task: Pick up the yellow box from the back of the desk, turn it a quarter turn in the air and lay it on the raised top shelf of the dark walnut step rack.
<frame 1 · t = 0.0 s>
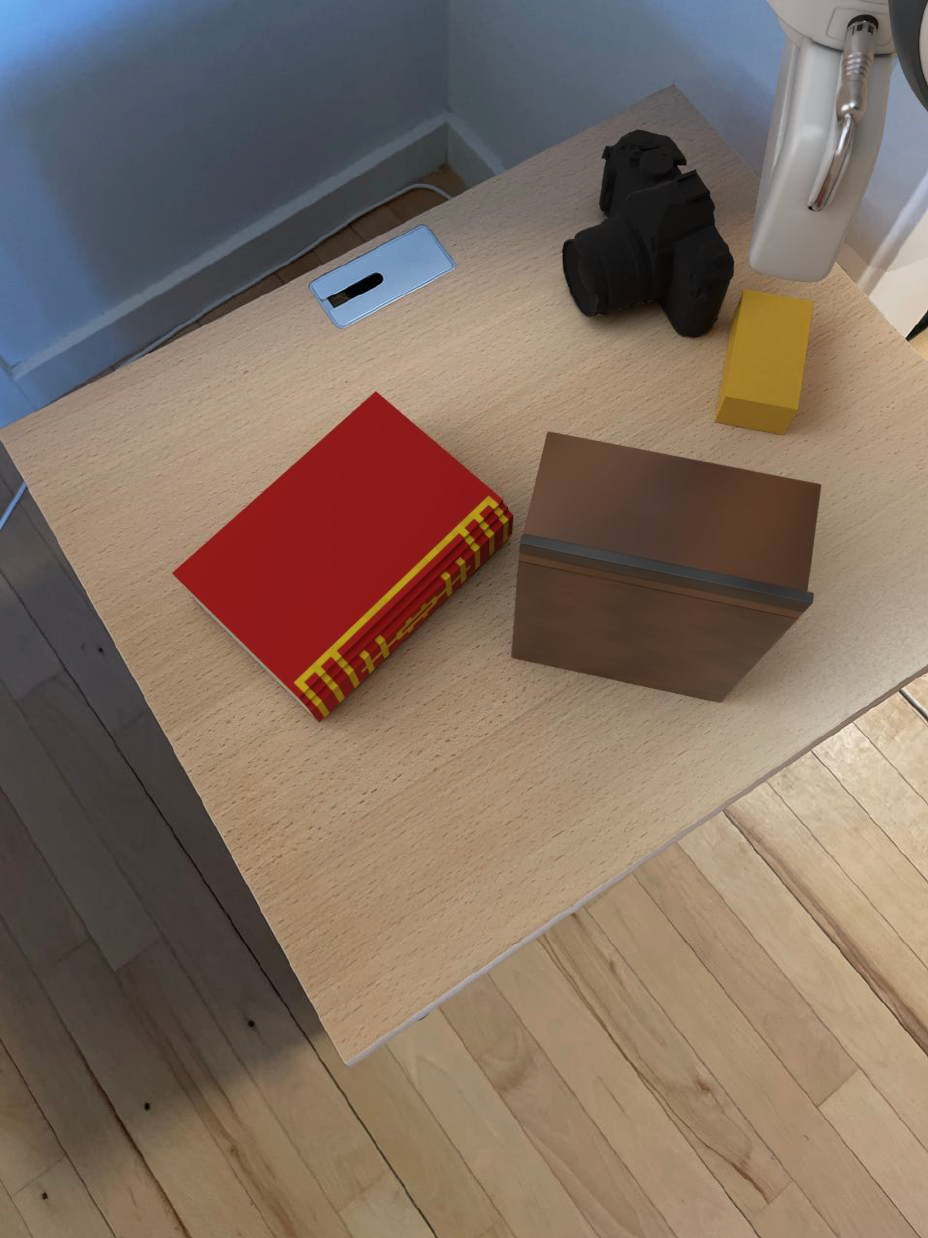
hand: (780, 191, 52), 20 cm above the table, tool pointing down, fingers open, 8 cm apart
book: (354, 570, 68), on the table
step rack: (632, 590, 67), on the table
top shelf: (668, 526, 50), resting on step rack
yellow box: (757, 375, 72), on the table
film camera: (628, 280, 75), on the table
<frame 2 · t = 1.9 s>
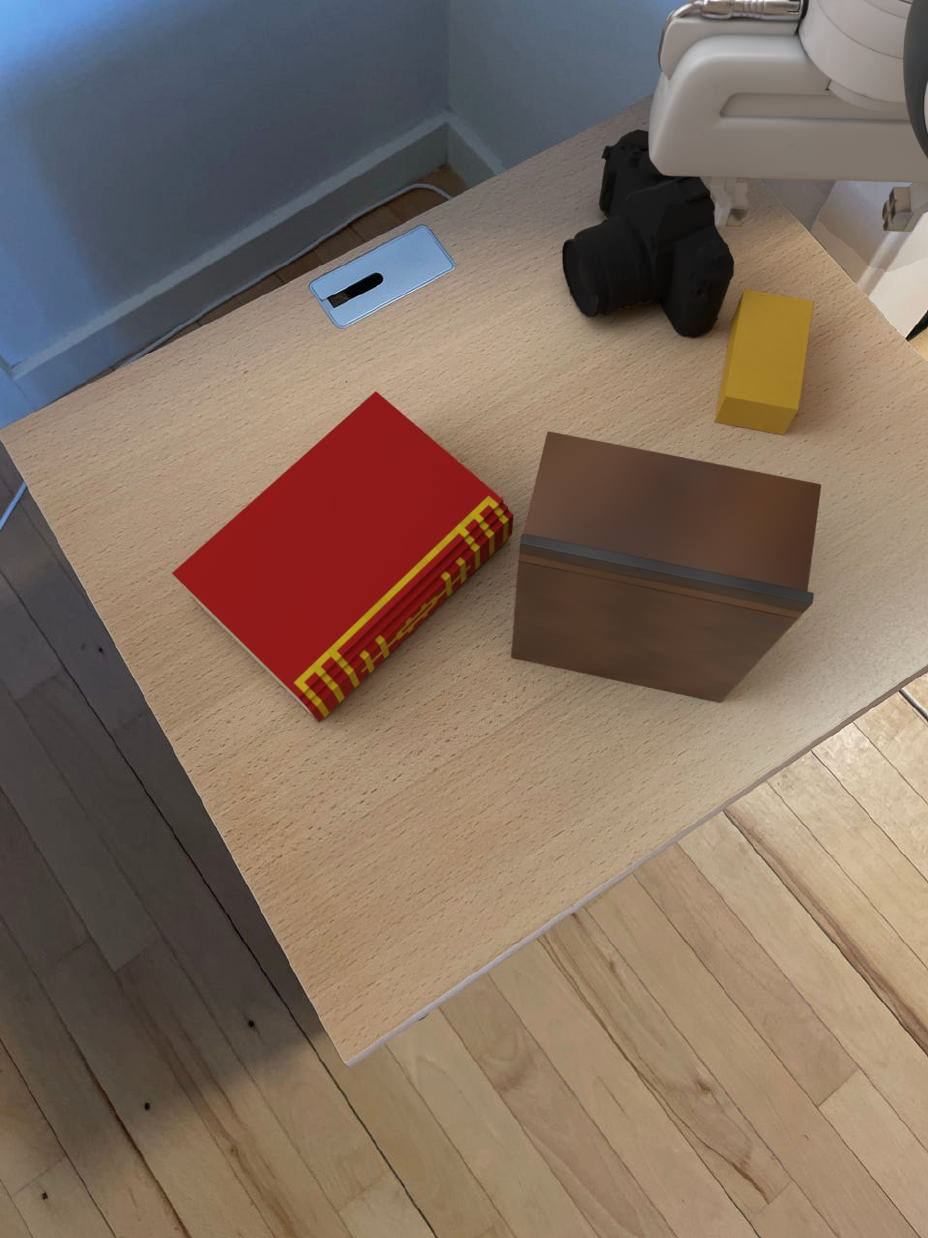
hand: (811, 219, 56), 17 cm above the table, tool pointing down, fingers open, 8 cm apart
nothing on the table moved.
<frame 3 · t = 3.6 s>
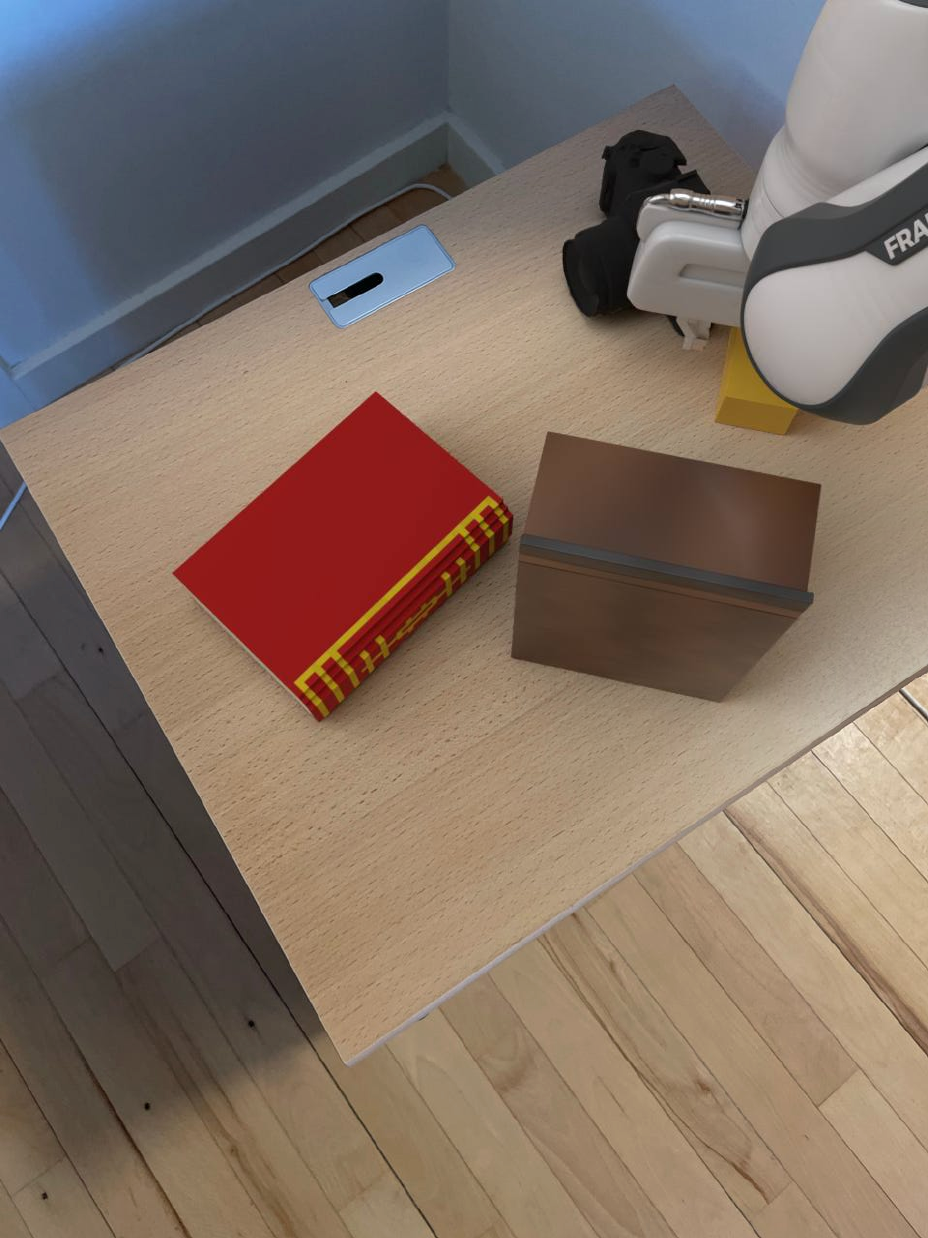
hand: (758, 354, 69), 3 cm above the table, tool pointing down, fingers open, 8 cm apart
film camera: (628, 280, 75), on the table, touching gripper
everything else where it was.
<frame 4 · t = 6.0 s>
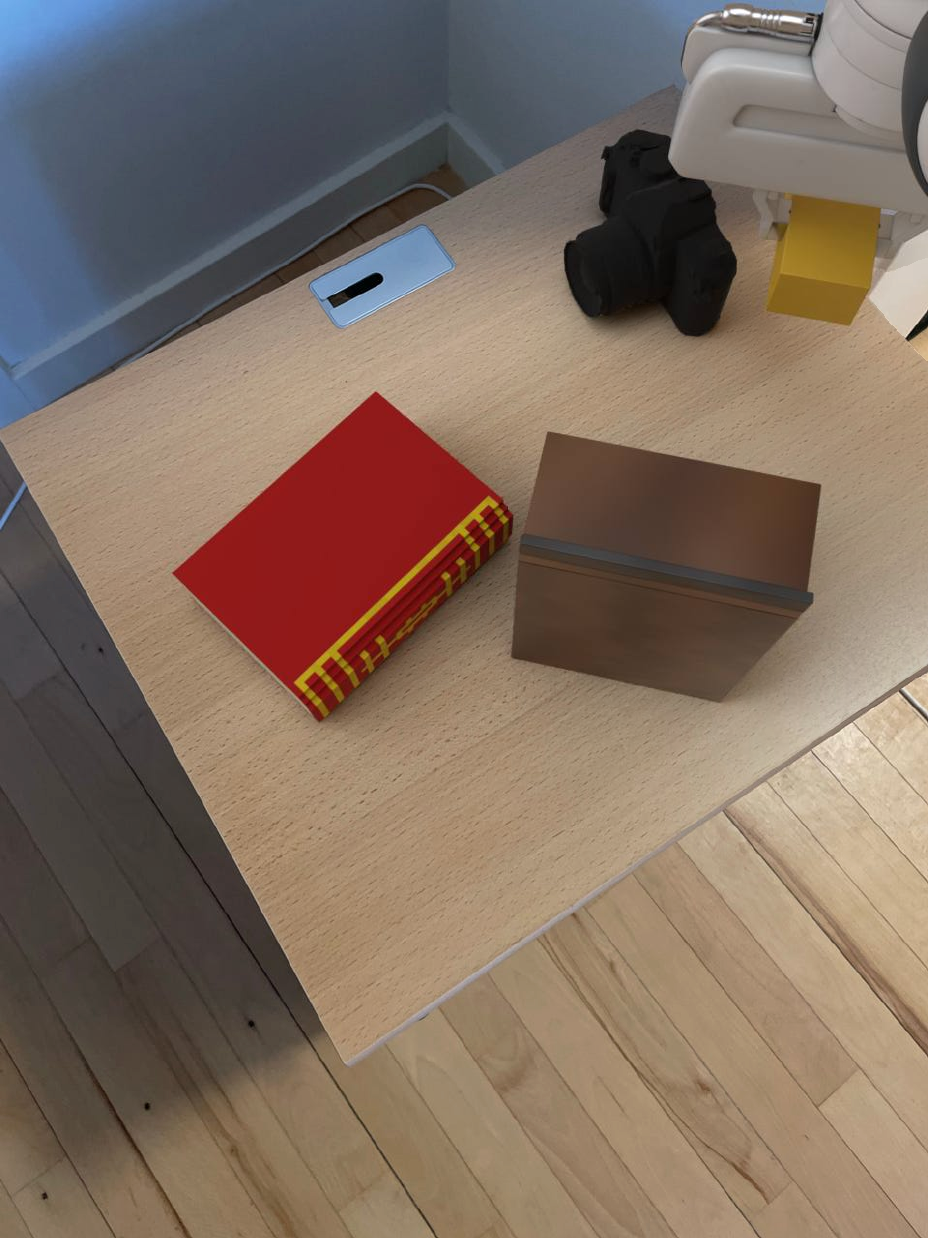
hand: (825, 240, 58), 15 cm above the table, tool pointing down, fingers closed on yellow box, 5 cm apart
yellow box: (816, 257, 60), point 13 cm above the table, touching gripper
film camera: (629, 280, 75), on the table
everything else where it was.
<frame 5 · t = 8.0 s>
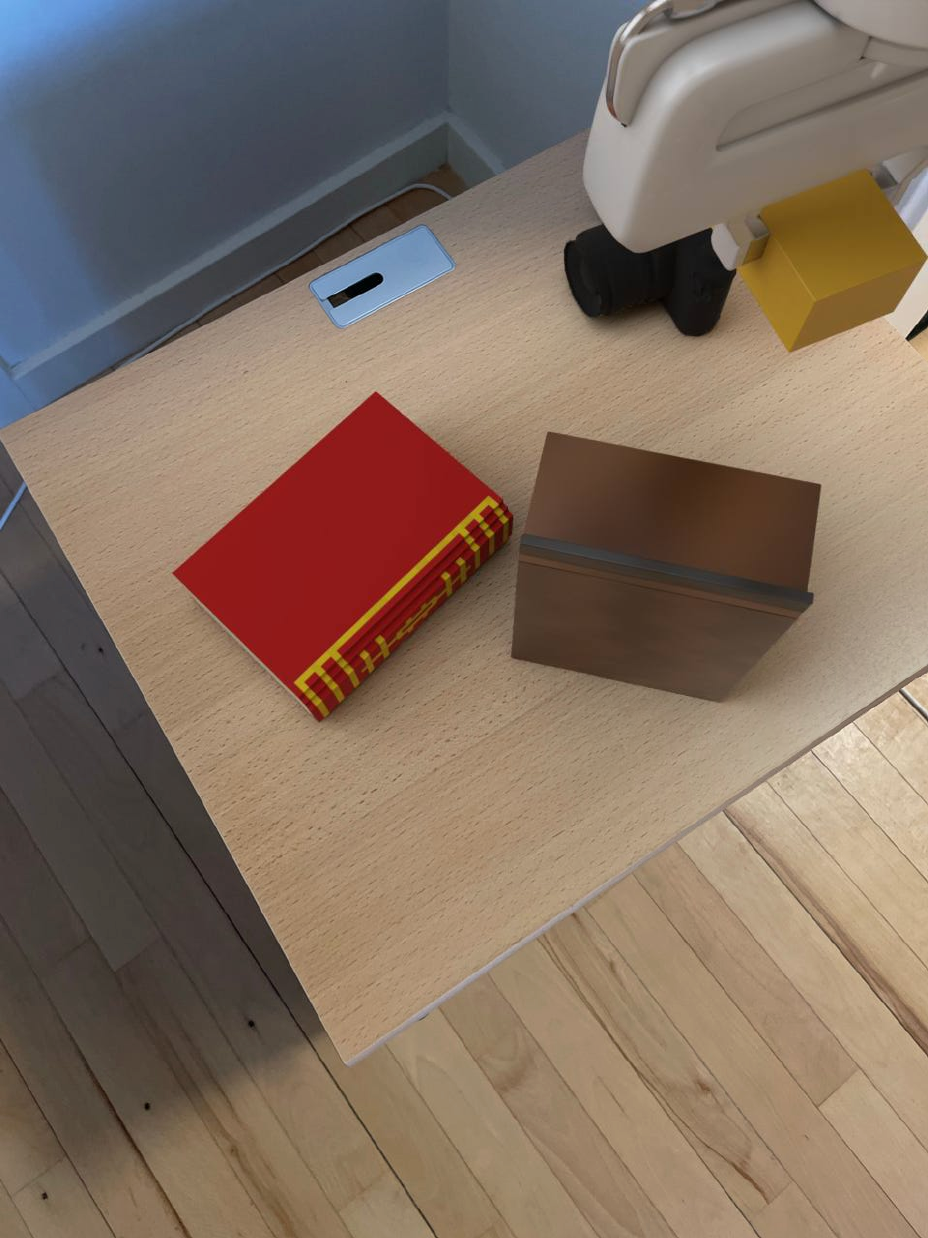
hand: (803, 226, 41), 29 cm above the table, tool pointing down, fingers closed on yellow box, 5 cm apart
yellow box: (789, 251, 42), point 27 cm above the table, touching gripper
everything else where it was.
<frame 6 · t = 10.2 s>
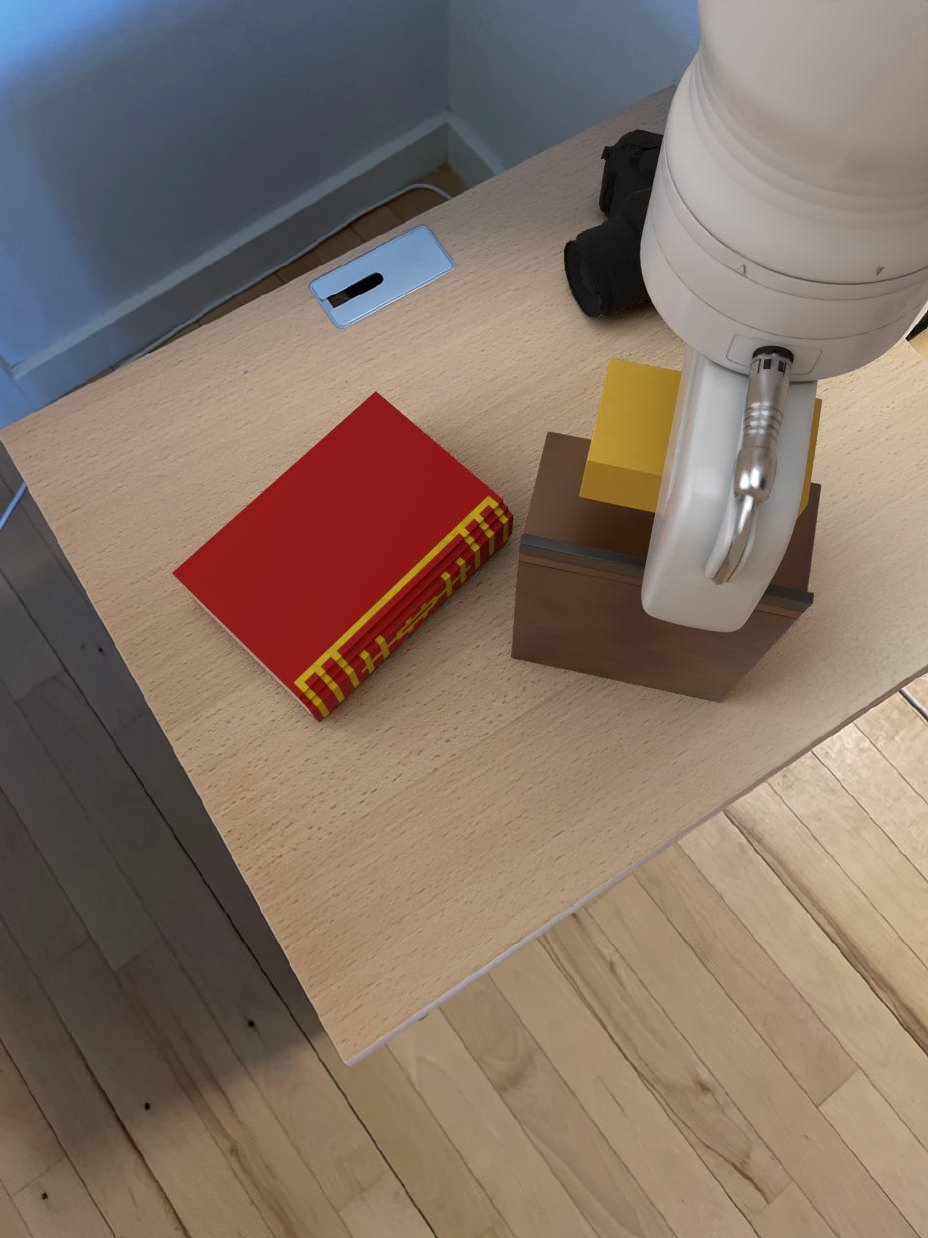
hand: (700, 450, 42), 25 cm above the table, tool pointing down, fingers closed on yellow box, 5 cm apart
yellow box: (689, 468, 44), point 23 cm above the table, touching gripper
everything else where it was.
when the fingers open (20 cm above the table, at t = 11.9 s): yellow box stays where it is, resting on top shelf.
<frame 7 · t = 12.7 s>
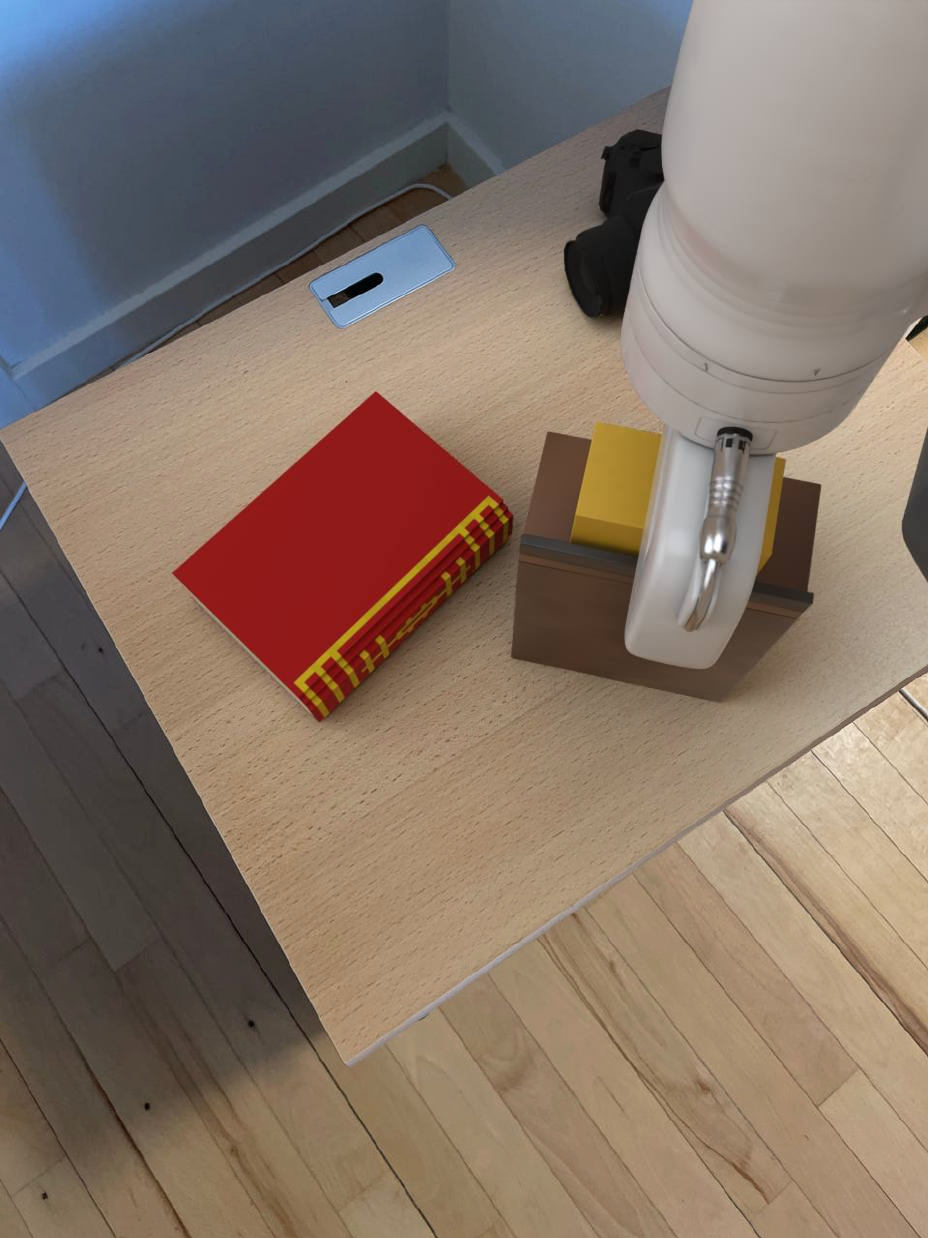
hand: (681, 496, 46), 20 cm above the table, tool pointing down, fingers open, 8 cm apart
yellow box: (668, 518, 49), point 18 cm above the table, touching top shelf
everything else where it was.
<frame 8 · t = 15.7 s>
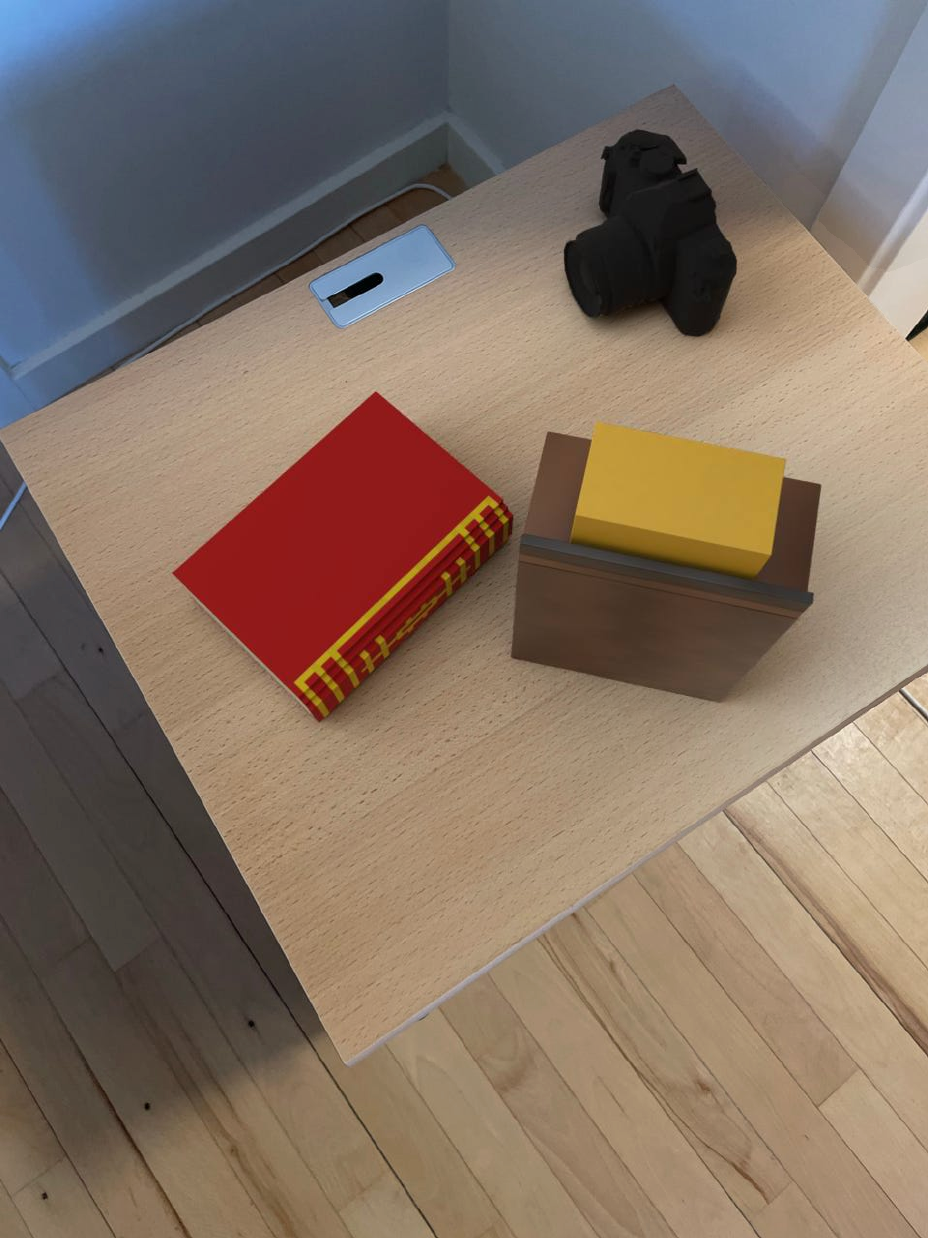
nothing on the table moved.
at the end: yellow box inside the target area on the top shelf (0.2 cm from its centre), point 1.0 cm above the top shelf's base; the gripper is holding nothing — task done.
